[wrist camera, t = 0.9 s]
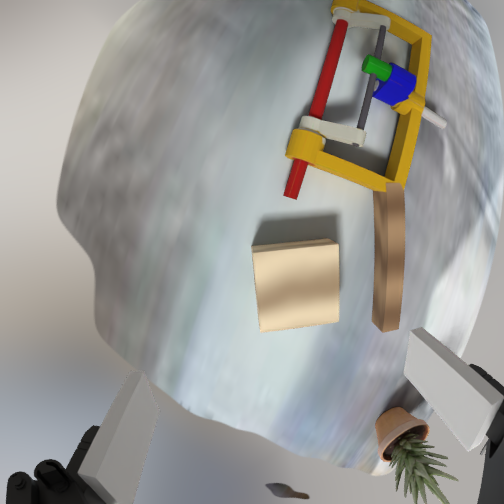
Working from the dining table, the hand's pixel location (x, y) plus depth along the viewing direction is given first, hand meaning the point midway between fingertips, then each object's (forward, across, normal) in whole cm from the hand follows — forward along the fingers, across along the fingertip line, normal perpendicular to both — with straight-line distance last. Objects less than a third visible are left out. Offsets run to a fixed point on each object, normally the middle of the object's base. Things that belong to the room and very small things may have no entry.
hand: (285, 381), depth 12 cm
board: (+21, +16, -1) cm, 26 cm away
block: (+22, +4, -2) cm, 22 cm away
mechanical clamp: (+21, +17, +18) cm, 33 cm away
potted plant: (+22, +21, -32) cm, 43 cm away
